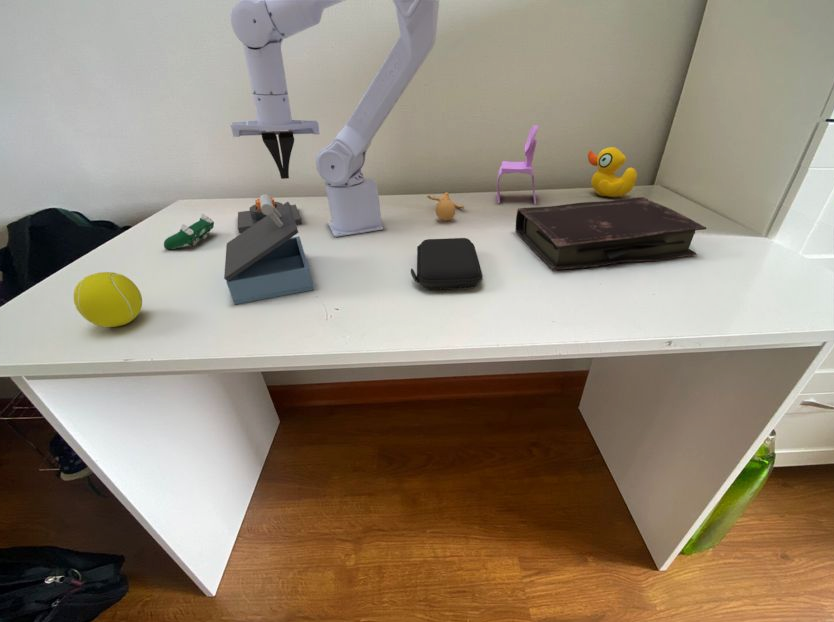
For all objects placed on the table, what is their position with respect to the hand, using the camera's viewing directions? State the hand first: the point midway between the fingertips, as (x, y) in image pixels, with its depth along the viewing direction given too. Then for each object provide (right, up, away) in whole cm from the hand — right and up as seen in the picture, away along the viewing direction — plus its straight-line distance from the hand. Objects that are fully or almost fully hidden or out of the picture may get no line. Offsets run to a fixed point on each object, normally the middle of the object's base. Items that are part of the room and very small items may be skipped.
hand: (284, 177), depth 79 cm
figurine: (+30, -7, +4) cm, 31 cm away
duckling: (+68, +2, +17) cm, 70 cm away
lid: (+2, -16, -16) cm, 23 cm away
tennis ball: (-14, -29, -22) cm, 39 cm away
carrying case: (+30, -20, -12) cm, 38 cm away
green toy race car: (-17, -12, 0) cm, 21 cm away
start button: (-6, -4, +7) cm, 10 cm away
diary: (+57, -14, -5) cm, 59 cm away
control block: (-6, -6, +8) cm, 12 cm away
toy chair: (+47, +1, +16) cm, 49 cm away
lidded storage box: (+3, -21, -13) cm, 25 cm away
